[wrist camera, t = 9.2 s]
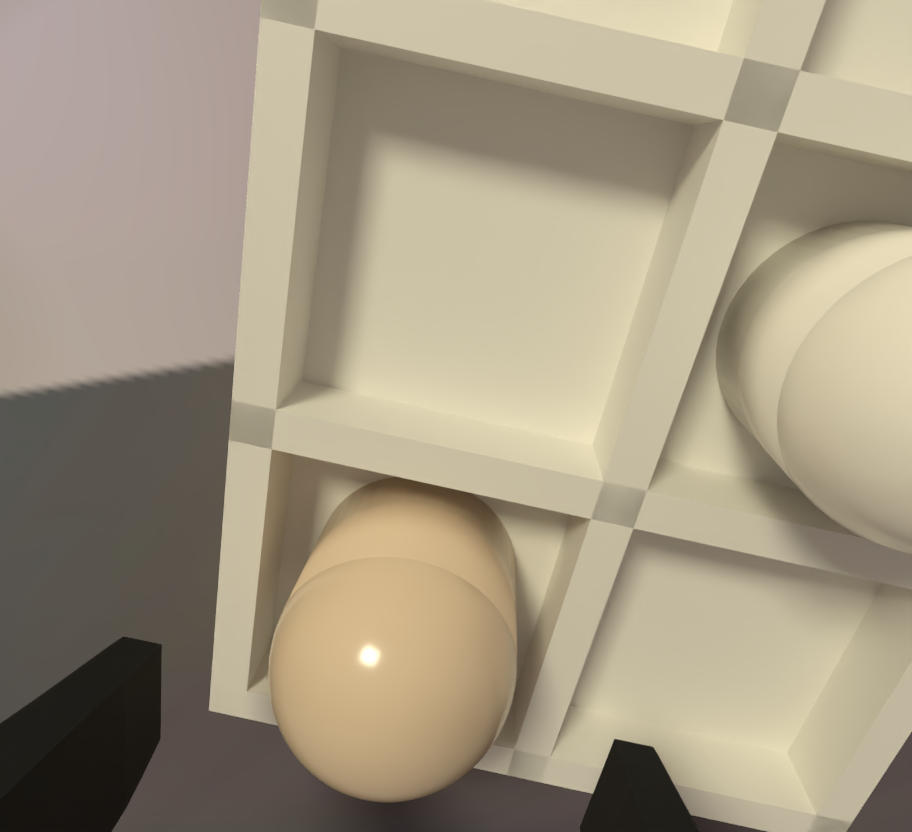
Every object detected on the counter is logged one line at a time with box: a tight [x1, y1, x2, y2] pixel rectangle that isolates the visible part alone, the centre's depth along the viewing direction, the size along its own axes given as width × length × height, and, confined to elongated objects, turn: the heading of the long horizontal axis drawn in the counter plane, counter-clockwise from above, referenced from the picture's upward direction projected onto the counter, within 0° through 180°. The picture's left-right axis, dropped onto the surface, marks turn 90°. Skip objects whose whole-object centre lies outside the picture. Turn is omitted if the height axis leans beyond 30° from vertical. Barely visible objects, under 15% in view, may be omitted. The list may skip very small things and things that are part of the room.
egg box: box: [209, 0, 912, 832], centre depth 11 cm, size 14×21×2 cm
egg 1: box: [268, 476, 517, 802], centre depth 12 cm, size 4×4×5 cm
